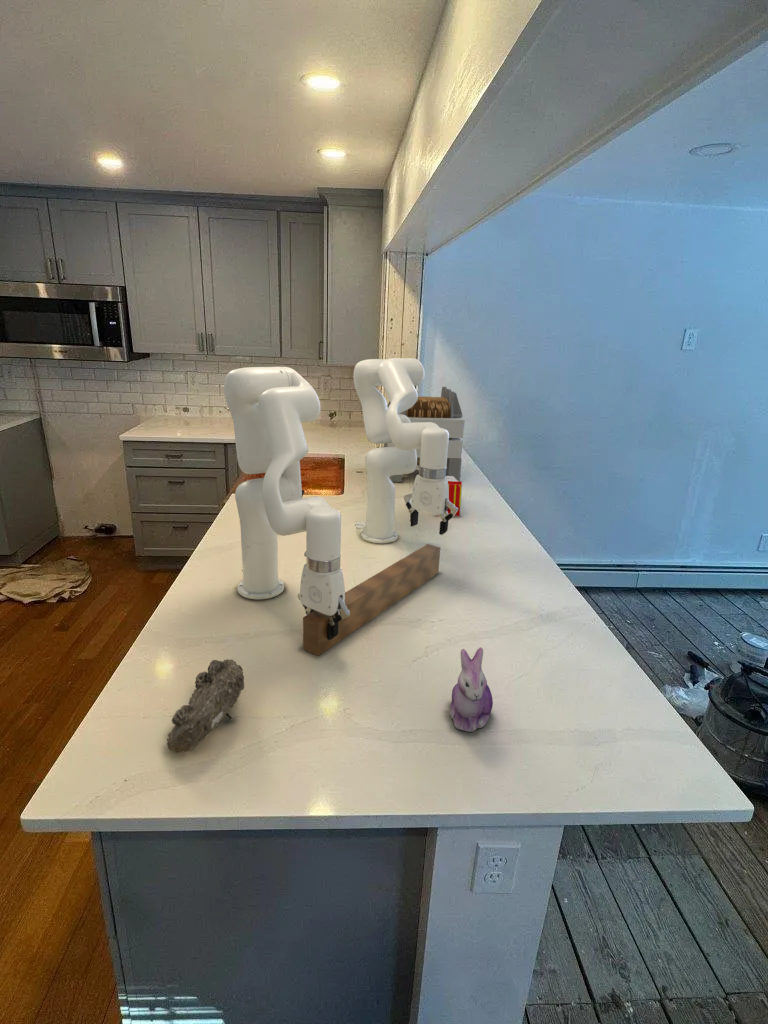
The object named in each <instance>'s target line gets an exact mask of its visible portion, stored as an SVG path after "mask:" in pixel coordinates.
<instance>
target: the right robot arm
mask: <svg viewBox="0 0 768 1024" xmlns="http://www.w3.org/2000/svg"><path fill="white" fill-rule="evenodd" d="M424 368H425V367H424V365H423V364H422V363H421V361H420V360H419V359H418V358H415V357H391V358H369V359H368V358H367V359H363V360H360V361H358V362H357V363H356V364H355V365H354V369H353V375H352V377H353V386H354V388H355V392H356V394H357V397H358V399H359V402H360V405H361V411H362V418H363V423H364V424H363V425H364V431H365V436H366V439H367V441H368V442H369V443H371V444H373V445H374V444H375V445H377V444H378V445H380V444H381V445H382V444H383V445H384V443H393V444H394V445H395V446H394V447H384V446H380V447H374V448H372V449H370V450H369V451H368V452H367V453H366V455H365V460H364V462H365V463H364V464H365V470H366V478H367V479H366V480H367V484H366V486H367V488H366V490H367V491H366V519H365V520H366V521H364V522H362V521H355V522H354V527H355V529H356V530H361V534H360V535H361V538H362V539H363V540H364V541H366V542H368V543H373V544H389V543H393V542H395V541H397V540H398V537H399V534H398V532H397V531H396V530H395V528H394V527H395V510H396V509H395V508H396V507H395V506H396V486H395V484H394V482H392V481H391V480H390V478H389V477H390V476H392V475H401V474H403V475H409V474H412V473H414V472H415V471H416V470H417V471H418V474H416V475H415V478H414V481H413V486H412V491H411V493H408V494H406V495H404V496H403V500H404V503H405V507H406V508H407V509H408V513H409V514H410V516H409V524H410V525H409V526H410V527H415V526H417V525H418V524H419V516H420V515H419V514H420V512H422V513H427V514H431V515H435V516H439V518H440V519H441V521H440V522H439V530H438V531H439V533H438V534H439V535H440V536H443V535H444V534H446V533H447V532H448V530H449V520H451V519H453V518H454V517H456V516H455V514H456V512H457V511H458V508H457V507H456V506H455V505H454V504H452V503H451V502H450V501H449V488H448V480H447V478H446V466H447V454H448V443H449V433H448V431H447V430H445V429H443V428H440V427H439V426H438V425H437V424H435V423H432V422H421V423H420V422H417V423H411V421H410V420H409V418H408V417H407V416H405V415H402V414H400V413H402V412H404V411H406V410H408V409H409V408H411V407H412V406H413V405H414V404H415V403H416V401H417V399H418V397H419V393H418V391H417V388H416V386H417V387H418V386H420V385H421V384H422V383H423V381H424V380H425V369H424ZM377 387H383V389H384V391H385V394H386V396H387V398H388V401H390V402H391V404H390V405H389V407H387V405H388V401H387V398H386V397H385V396H384V394H383V392H381V391H380V390H379V389H378V388H377ZM416 449H421V451H420V465H417V453H416ZM448 508H449V509H450V510H451V512H450V514H448V512H447V510H448Z"/></svg>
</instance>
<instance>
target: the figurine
mask: <svg viewBox="0 0 768 1024" xmlns="http://www.w3.org/2000/svg"><path fill="white" fill-rule="evenodd" d="M459 655H460V666H461V667H460V668H461V671H460V673H459V675H458V678H457V682H456V684H455V685H454V686H453V688H452V690H451V703H450V707H449V715H450V716H449V717H450V718H451V719H452V721H453V724H454V727H455V728H456V729H457V730H461V731H464V732H470V733H471V732H472V733H473V732H475V731H476V730H477V729H481V728H482V729H483V728H484V727H485V726H486V724H487V723H488V721H489V719H490V716H491V714H492V713H491V712H492V710H493V705H494V704H493V703H494V702H493V701H494V700H493V695H492V691H491V688H490V686H489V685H488V680H487V677H486V675H485V673H484V670H483V665H482V664H483V659H484V648H483V647H478V648H477V649H476V651H475V654H474V655H473V657H472V658H471V657H470V655H469V653H468V651H467V650H466V649H465V648H461V649H460V653H459Z"/></svg>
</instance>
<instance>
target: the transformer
mask: <svg viewBox="0 0 768 1024" xmlns="http://www.w3.org/2000/svg"><path fill="white" fill-rule="evenodd" d="M440 393H441V394H440V396H418V399H417V401H416V403H415V404H414V405H413V406H412V407H411V408H409V409H408V410H406V411H404V412H402V413H400V414H402V415H405V416H407V417H408V418H409V420H410V421H411V423H417V422H420V423H421V422H432V423H435V424H437V425H438V426H439V427H440V428H443V429H445V430H447V431H448V433H449V443H448V454H447V466H446V476H453V477H454V478H455V479H456V480H458V481H459V482H461V472H462V461H463V460H462V453H463V442H464V441H463V440H462V439H463V438H464V431H465V430H464V429H465V419H464V418H463V411H462V408H461V405H460V402H459V398H458V395H457V392H455V391H453V390H452V389H451V388H447V386H442V387H441V392H440ZM388 401H389V402H387V407H389V405H390V404H391V402H390V400H388ZM394 446H395V445H394V444H393V443H384V444H383V447H394ZM420 451H421V449H416V453H417V465H420ZM403 475H404V474H401V475H392V476H390V477H389V478H390V480H391V481H392V483H402V482H403Z"/></svg>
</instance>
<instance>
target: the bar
mask: <svg viewBox="0 0 768 1024" xmlns="http://www.w3.org/2000/svg"><path fill="white" fill-rule="evenodd" d="M440 557H441V547H439V546H436V545H433V544H430V543H427V544H425V545H423V546H422V547H420V548H418V549H416V550H414V551H413V552H411V553H409V554H408V555H406V556H405V557H403V558H400V559H399V560H398V561H396V562H394V563H393V564H391V565H389V566H387V567H386V568H384V569H382V570H381V571H379V572H377V573H376V574H374V575H372V576H370V577H369V578H366V579H365V580H364V581H362V582H360V583H359V584H357V585H355V586H353V587H352V588H350V589H348V590H346V591H345V605H346V607H347V608H348V610H349V612H350V615H349V616H348V617H346V618H344V619H342V620H341V621H339V622H338V635H337V636H336V637H334V638H333V639H331V640H328V639H327V625H328V624H329V619H328V615H325V614H323V613H320V612H318V611H313V612H311V613H310V614H308V615H306V614H305V615H304V616H303V617H302V648H303V649H302V650H304V651H306V652H308V653H310V654H312V655H314V656H317V657H319V656H320V655H322V654H323V653H324V652H326V651H327V650H329V649H330V648H332V647H333V646H335V645H336V644H338V643H339V642H341V641H343V640H344V639H345V638H347V637H348V636H349V635H351V634H352V633H354V632H355V631H356V630H358V629H359V628H361V627H362V626H364V625H365V624H366V623H368V622H369V621H371V620H372V619H374V618H376V617H377V616H378V615H380V614H381V613H383V612H384V611H385V610H387V609H388V608H390V607H391V606H393V605H394V604H396V603H397V602H399V601H401V599H404V598H405V597H406V596H408V595H409V594H410V593H412V592H413V591H415V590H416V589H417V588H419V587H421V586H422V585H424V584H425V583H426V582H428V581H429V580H431V579H432V578H433V577H435V576H437V575H438V574H439V569H440V561H441V560H440ZM339 612H340V610H339ZM340 614H341V612H340ZM333 617H334V618H335V614H334V615H333Z"/></svg>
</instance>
